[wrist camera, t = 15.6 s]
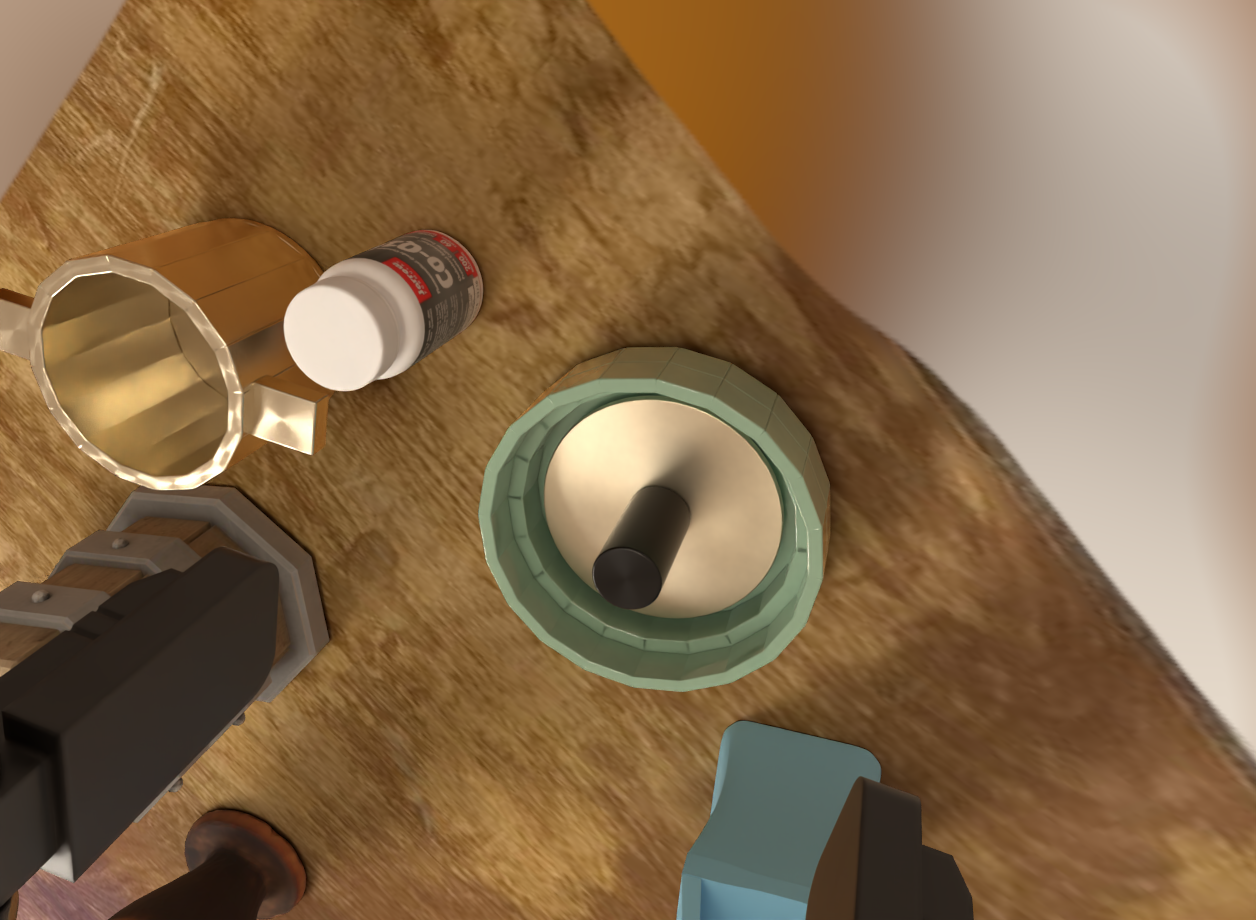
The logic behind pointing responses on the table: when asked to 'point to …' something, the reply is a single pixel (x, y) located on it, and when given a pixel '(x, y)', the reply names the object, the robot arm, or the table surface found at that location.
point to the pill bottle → (383, 310)
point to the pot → (173, 351)
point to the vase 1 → (227, 874)
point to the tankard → (154, 542)
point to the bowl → (623, 636)
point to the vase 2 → (768, 823)
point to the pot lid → (663, 507)
